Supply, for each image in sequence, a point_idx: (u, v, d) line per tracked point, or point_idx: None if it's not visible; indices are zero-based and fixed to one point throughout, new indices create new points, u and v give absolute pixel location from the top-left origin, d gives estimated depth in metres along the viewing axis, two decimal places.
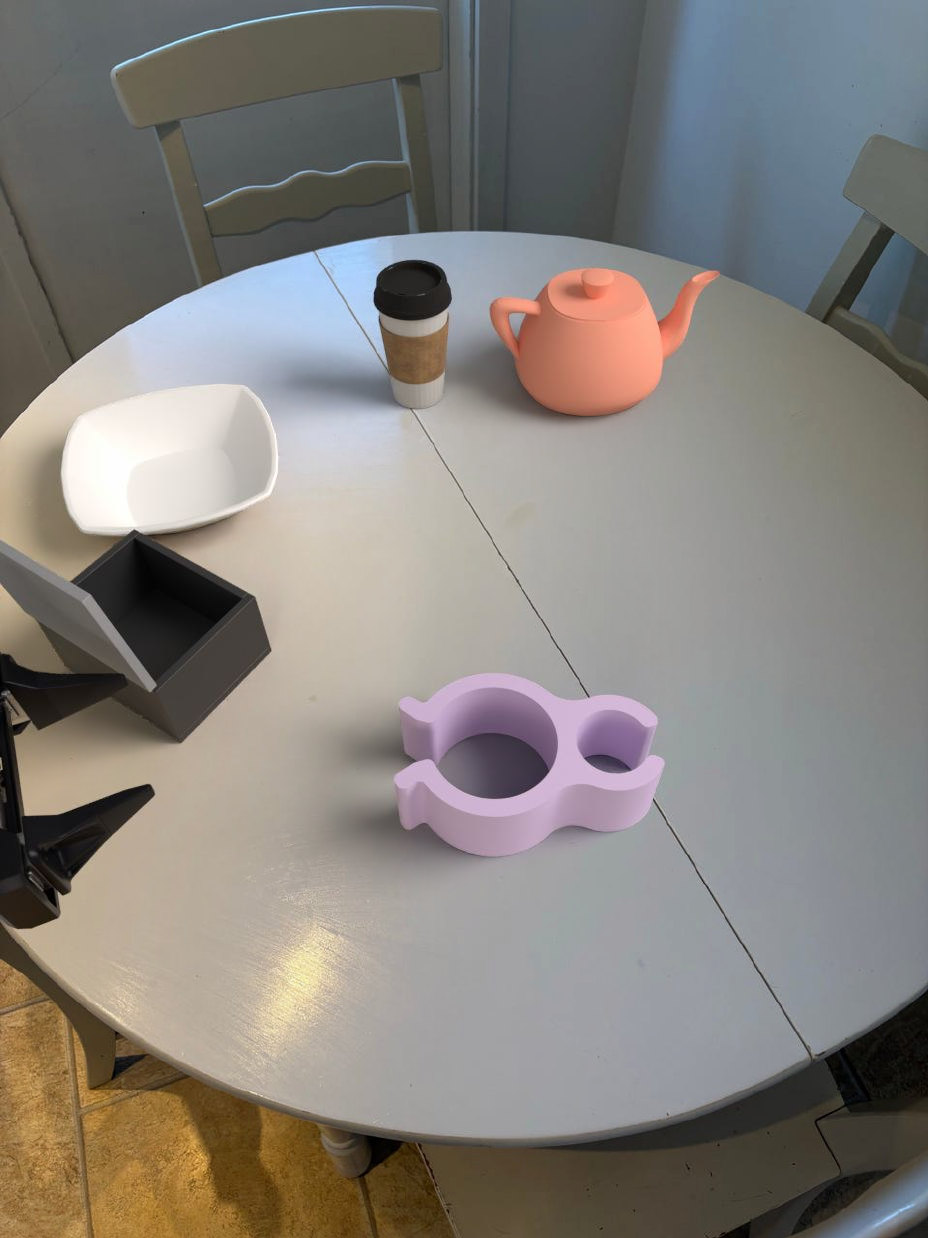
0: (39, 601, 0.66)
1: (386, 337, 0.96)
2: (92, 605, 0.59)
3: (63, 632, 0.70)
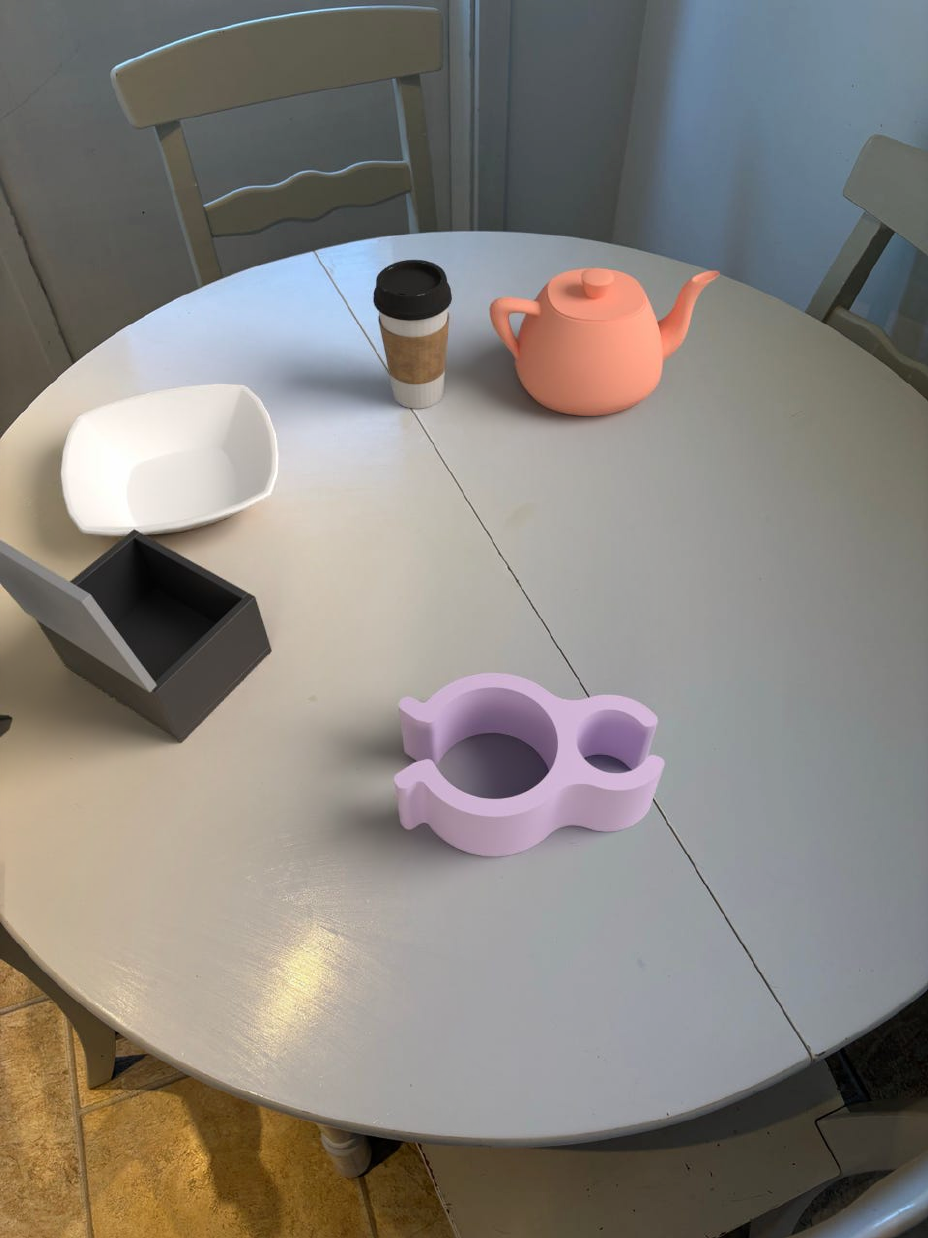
0: (39, 601, 0.66)
1: (386, 337, 0.96)
2: (92, 605, 0.59)
3: (63, 632, 0.70)
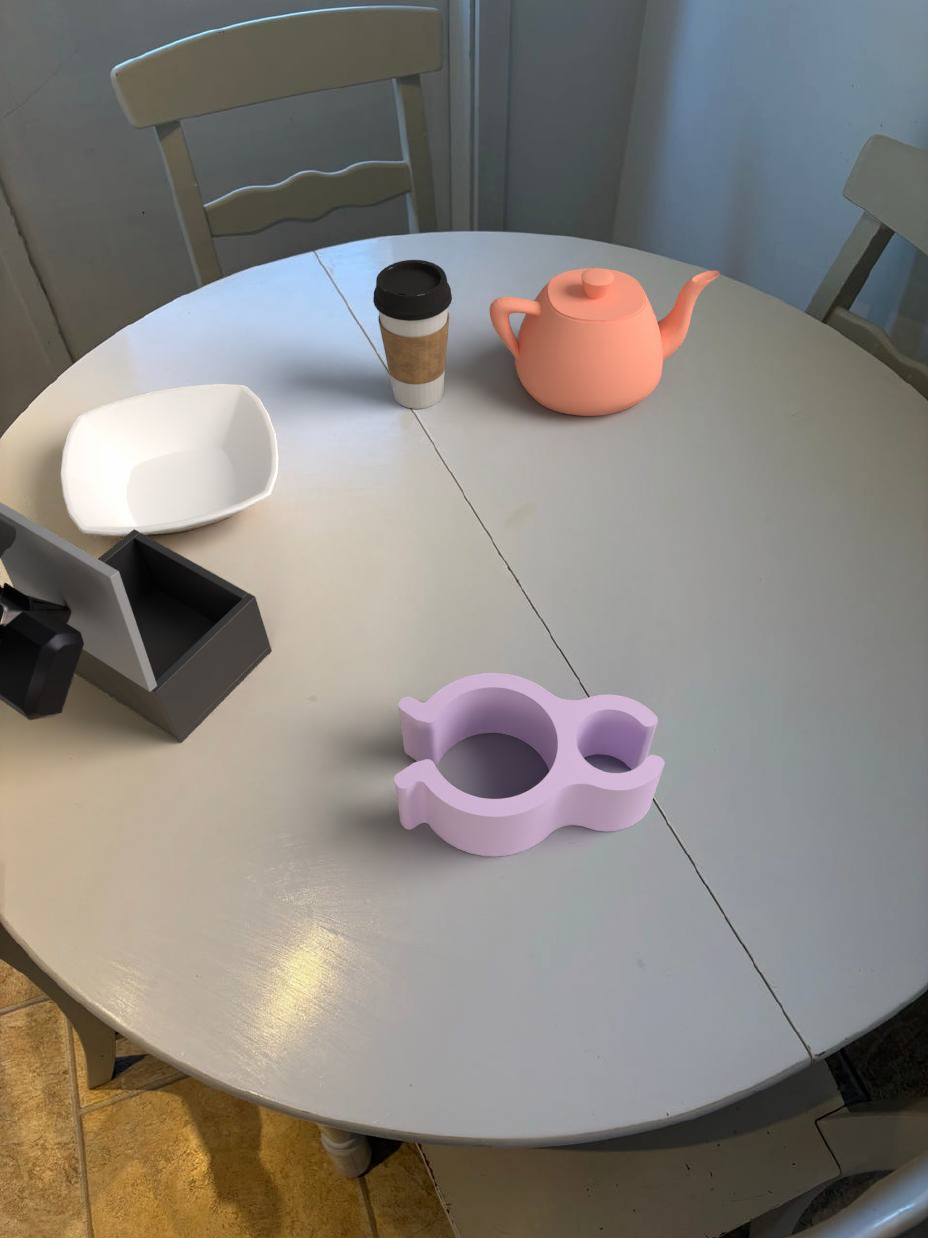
0: (52, 590, 0.67)
1: (386, 337, 0.96)
2: (118, 583, 0.60)
3: None
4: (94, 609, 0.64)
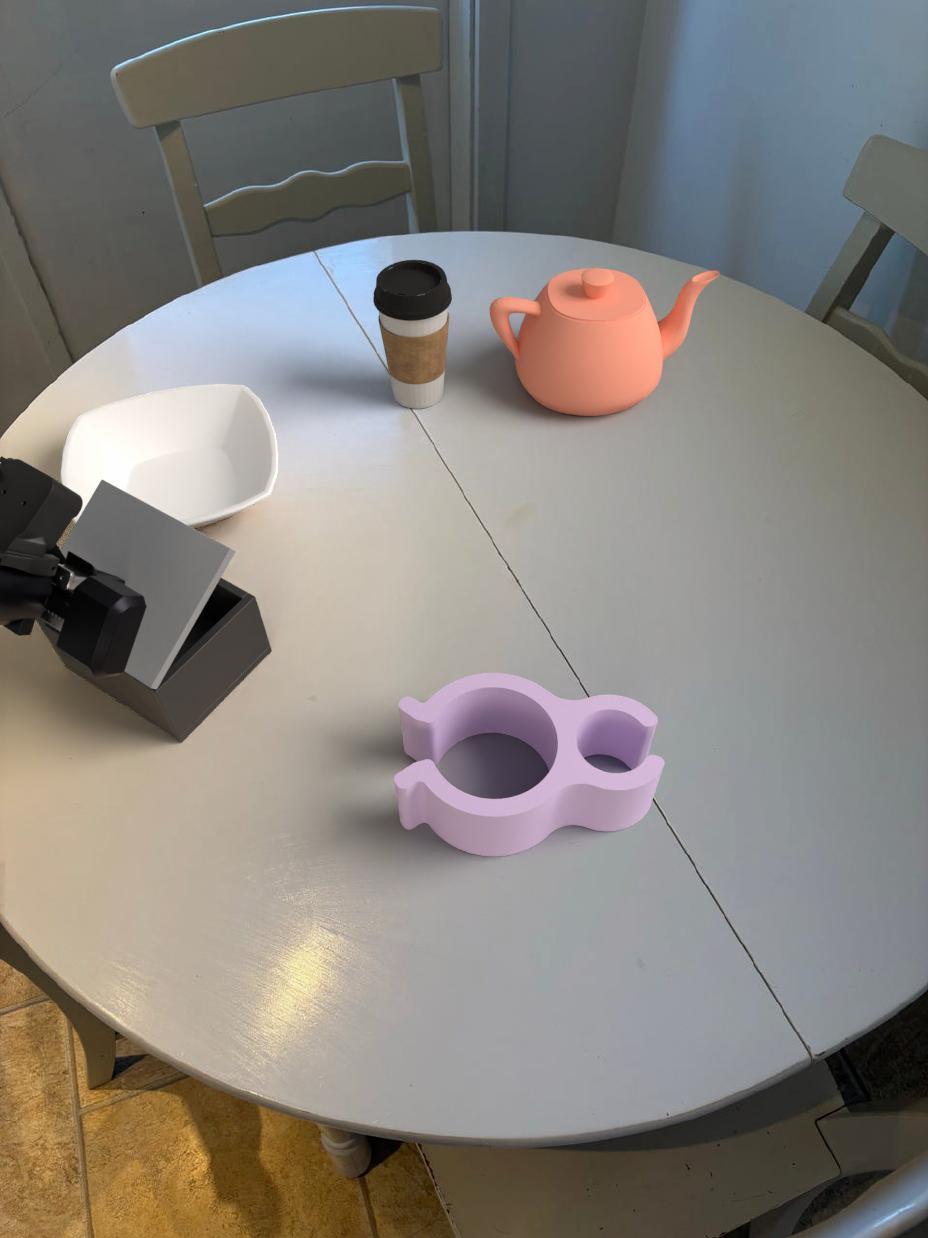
0: (115, 572, 0.72)
1: (386, 337, 0.96)
2: (228, 560, 0.70)
3: None
4: (164, 588, 0.70)
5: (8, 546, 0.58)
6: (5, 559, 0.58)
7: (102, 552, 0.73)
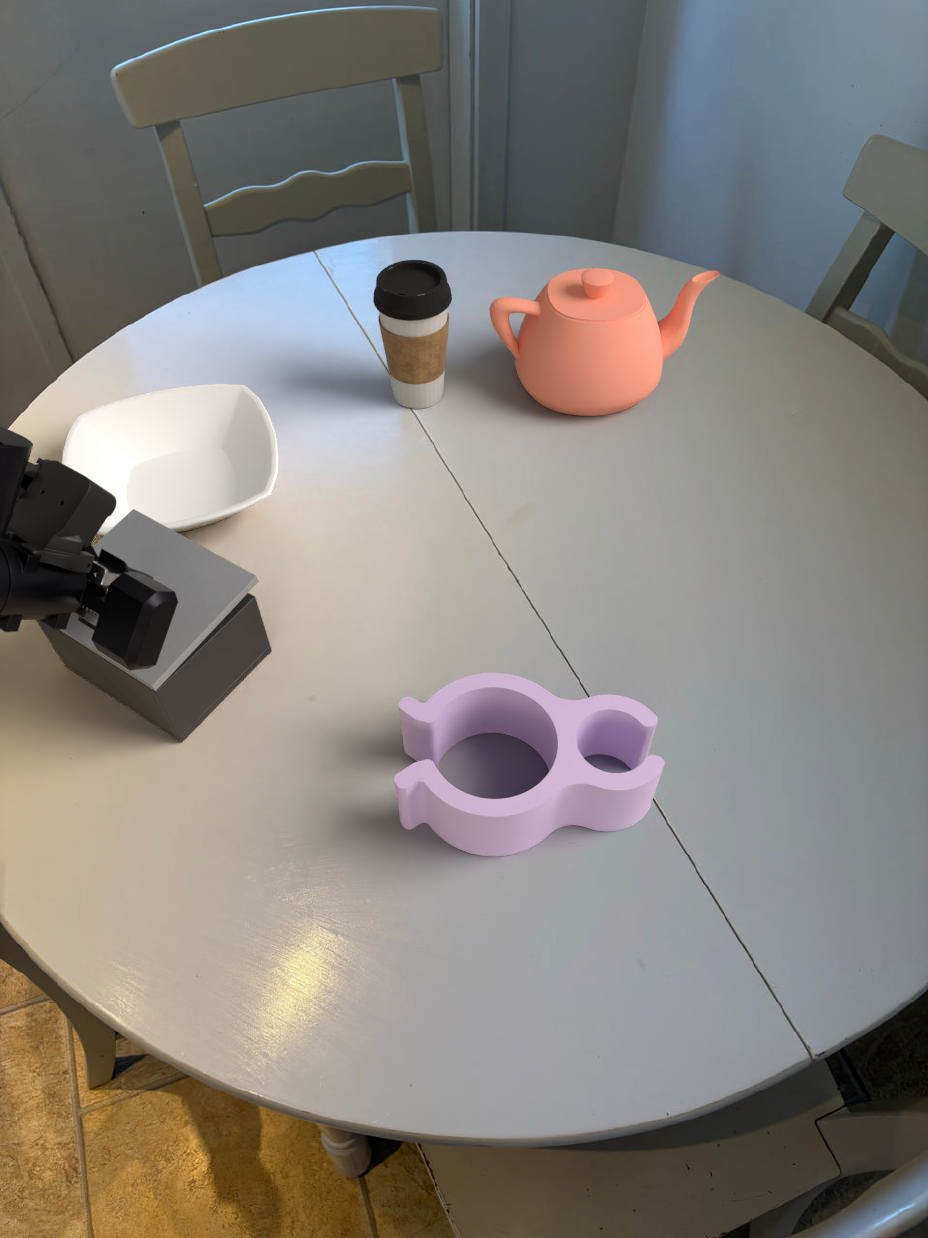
0: None
1: (386, 337, 0.96)
2: (251, 586, 0.74)
3: None
4: (183, 602, 0.73)
5: (47, 544, 0.61)
6: (44, 556, 0.60)
7: None
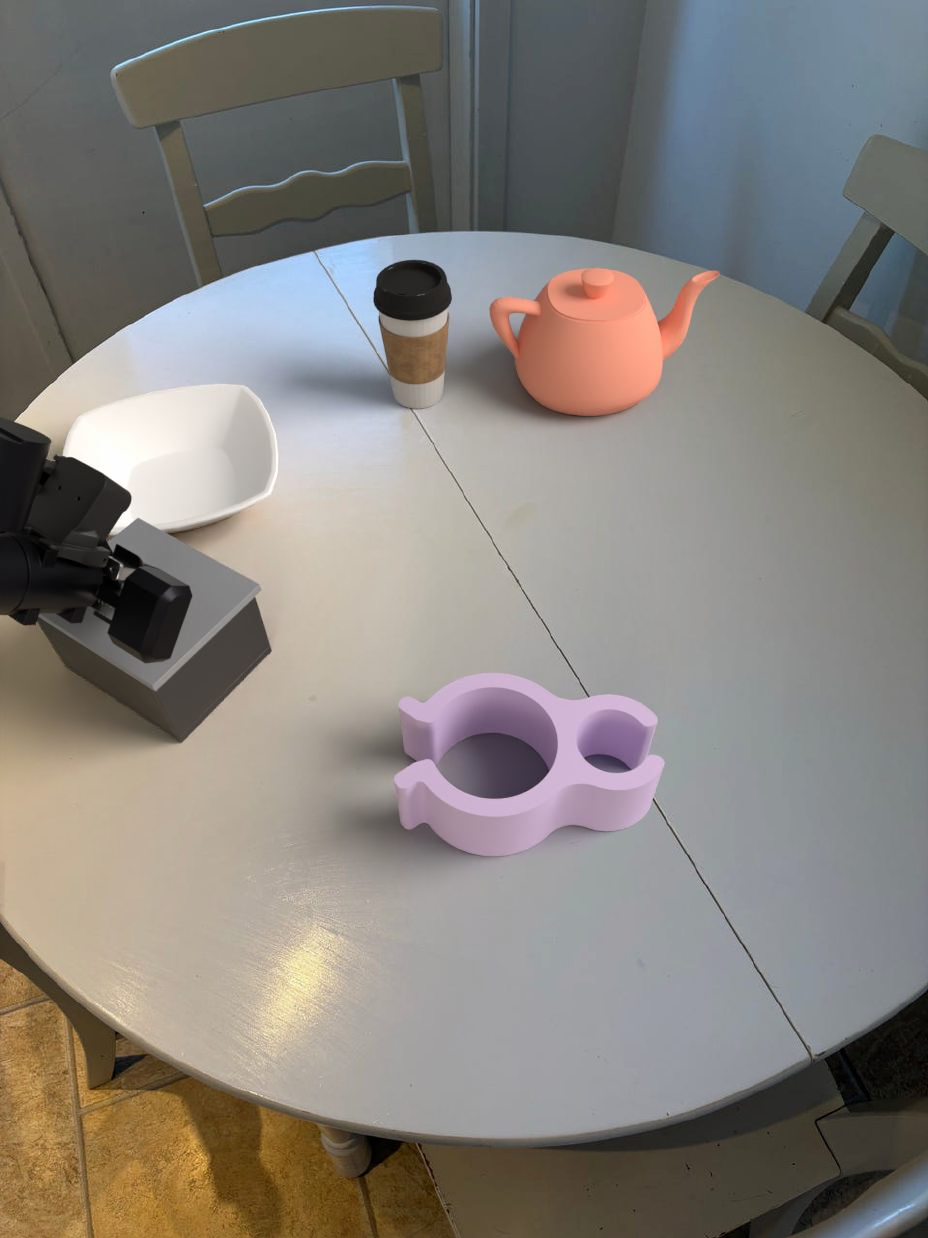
0: None
1: (386, 337, 0.96)
2: (254, 594, 0.75)
3: (89, 623, 0.72)
4: None
5: (64, 539, 0.62)
6: (62, 551, 0.61)
7: None
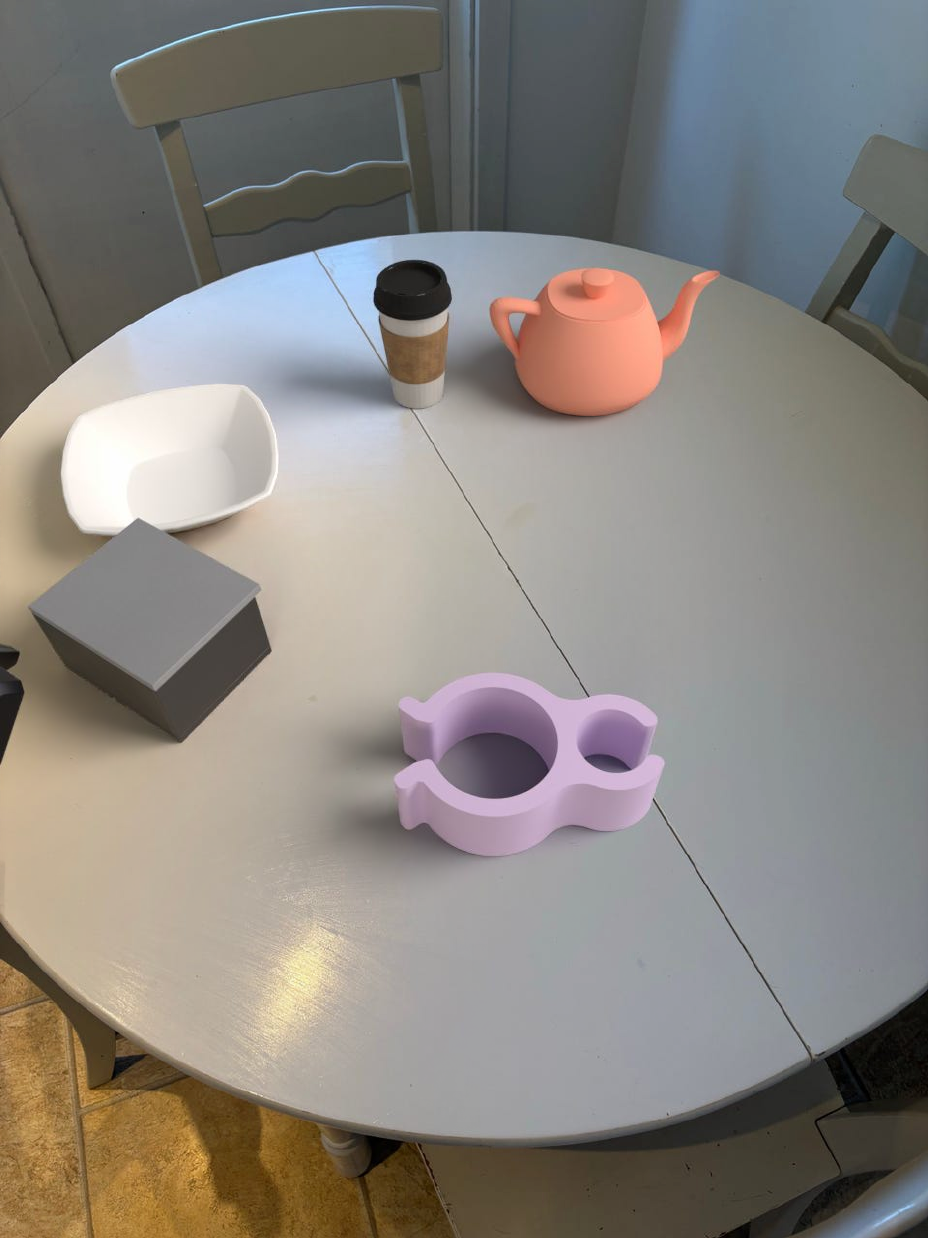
0: (135, 589, 0.75)
1: (386, 337, 0.96)
2: (254, 594, 0.75)
3: (89, 623, 0.72)
4: (185, 606, 0.73)
5: None
6: None
7: (125, 571, 0.76)
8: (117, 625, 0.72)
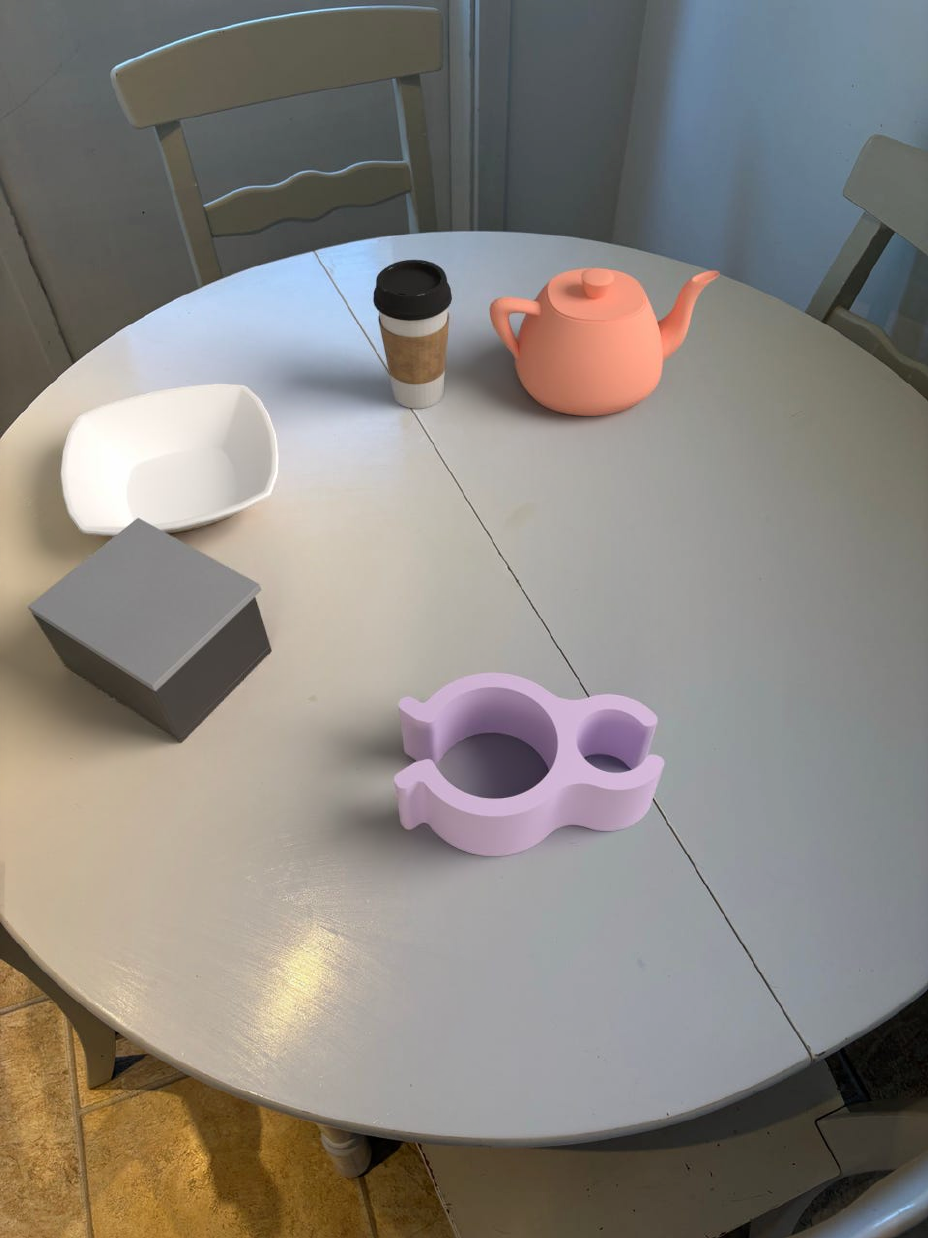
0: (135, 589, 0.75)
1: (386, 337, 0.96)
2: (254, 594, 0.75)
3: (89, 623, 0.72)
4: (185, 606, 0.73)
5: None
6: None
7: (125, 571, 0.76)
8: (117, 625, 0.72)
